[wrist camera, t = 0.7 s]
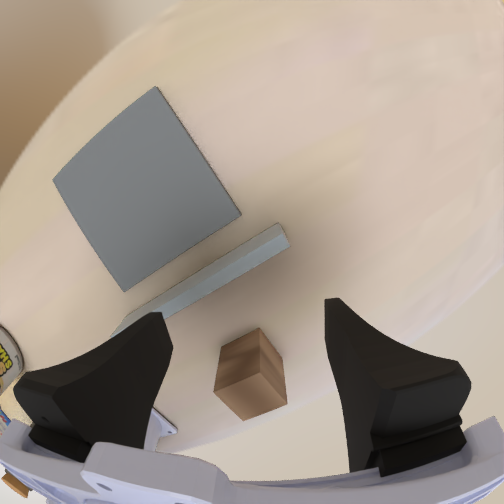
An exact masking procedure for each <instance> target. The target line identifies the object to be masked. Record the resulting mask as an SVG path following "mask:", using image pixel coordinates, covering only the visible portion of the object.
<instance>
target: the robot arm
mask: <svg viewBox="0 0 504 504" xmlns="http://www.w3.org/2000/svg"><path fill="white" fill-rule="evenodd" d="M325 342H326V348H327V354H328V359H329V362H330V365H331V369H332V372H333V375H334V379H335V382H336V385H337V389H338V392H339V395H340V399H341V404H342V409H343V416H344V423H345V431H346V438H347V447H348V457H349V470H350V473H346V474H340V475H334V476H326V477H318V478H308V479H298V480H282V481H230V480H229V478H228V476H227V475H226V474H225V473H224V472H223V471H221V470H220V469H219V468H218V467H217V466H216V465H214V464H211V463H209V462H206V461H204V460H201V459H199V458H193V457H188V456H184V455H177V454H169V453H162V452H155V450H156V447H157V444H158V440H159V438H160V437H164V436H168V435H172V434H176V433H177V429H176V428H175V427H174V426H173V425H172V424H170V423H169V422H168V421H167V420H166V419H165V418H164V417H162V416H161V415H160V414H159V413H158V412H157V411H156V410H155V409H154V408H152V407H153V404H154V401H155V399H156V396H157V394H158V391H159V389H160V387H161V384H162V382H163V379H164V377H165V374H166V372H167V369H168V367H169V363H170V360H171V355H172V351H173V344H172V342H171V339H170V336H169V333H168V330H167V327H166V324H165V321H164V318H163V315H162V312H149V313H147V314H146V315H144V316H143V317H141V318H140V319H138V320H137V321H135V322H134V323H132V324H131V325H130V326H128V327H127V328H125V329H124V330H123V331H121V332H120V333H118V334H117V335H115V336H114V337H112V338H111V339H109V340H108V341H106V342H105V343H103V344H102V345H100V346H98V347H97V348H95V349H93V350H91V351H89V352H87V353H85V354H83V355H81V356H79V357H76V358H74V359H72V360H69V361H67V362H64V363H61V364H59V365H55V366H52V367H49V368H45V369H40V370H35V371H31V372H26V373H25V374H24V375H23V376H22V377H21V379H20V380H19V381H18V382H17V383H16V385H15V386H14V388H13V391H14V395H15V398H16V400H17V401H18V403H19V404H20V406H21V407H22V408H23V410H24V411H25V412H26V413H27V415H28V416H29V417H30V418H31V420H32V421H33V422H34V423H35V425H34V427H33V428H31V427H30V426H29V425H27V424H25V423H23V422H21V421H19V420H16V419H12V421H11V422H10V424H9V425H8V427H7V428H6V430H5V431H4V433H3V434H2V436H1V437H0V463H1V464H2V465H3V466H4V467H5V468H6V469H7V470H8V471H9V472H11V473H12V474H13V475H14V476H15V477H16V478H17V479H19V480H20V481H21V482H22V483H23V484H25V485H26V486H28V487H30V488H31V489H33V490H35V491H36V492H38V493H40V494H41V495H43V496H45V497H46V498H47V500H46V503H47V504H473V503H475V502H477V501H479V500H480V499H482V498H484V497H485V496H487V495H488V494H489V493H491V492H492V491H493V490H494V489H495V488H497V487H498V486H499V485H500V484H501V483H502V482H503V481H504V432H503V430H502V429H501V427H500V425H499V423H498V422H497V419H496V418H495V416H492V417H490V418H488V419H486V420H484V421H481V422H479V423H477V424H475V425H473V426H471V427H469V428H468V429H466V430H465V431H464V432H462V430H461V427H460V425H461V424H462V419H461V417H460V415H459V413H460V411H461V409H462V407H463V405H464V404H465V402H466V400H467V397H468V395H469V392H470V390H471V381H470V379H469V377H468V376H467V374H466V372H465V371H464V369H463V368H462V366H461V365H460V364H459V362H458V361H455V360H450V359H445V358H441V357H436V356H433V355H429V354H426V353H423V352H420V351H418V350H415V349H412V348H410V347H408V346H405V345H403V344H401V343H399V342H397V341H395V340H393V339H391V338H390V337H388V336H386V335H384V334H383V333H381V332H380V331H378V330H377V329H375V328H374V327H373V326H371V325H370V324H368V323H367V322H366V321H364V320H363V319H362V318H361V317H360V316H358V315H357V314H356V313H355V312H354V311H353V310H352V309H351V308H349V307H348V306H347V305H346V304H345V303H344V302H343V301H342V300H341V299H340V298H331V299H325Z"/></svg>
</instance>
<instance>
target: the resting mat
mask: <svg viewBox="0 0 504 504" xmlns="http://www.w3.org/2000/svg"><path fill="white" fill-rule="evenodd" d="M52 180H53V182H54V184H55V186H56V188H57V189H58V191H59V193H60V195H61V197H62V198H63V200H64V202H65V204H66V205H67V207H68V209H69V211H70V212H71V214H72V216H73V217H74V219H75V221H76V222H77V224H78V225H79V227H80V229H81V230H82V232H83V233H84V235H85V237H86V238H87V240H88V241H89V243H90V244H91V246H92V247H93V249H94V250H95V252H96V253H97V255H98V256H99V258H100V259H101V261H102V262H103V264H104V265H105V267H106V268H107V270H108V271H109V272H110V274H111V275H112V277H113V278H114V279H115V281H116V282H117V284H118V285H119V286H120V288H121V289H122V290H123V292H125V291H127V290H128V289H130V288H131V287H132V286H134V285H135V284H137V283H138V282H140V281H141V280H143V279H144V278H146V277H147V276H149V275H150V274H152V273H153V272H155V271H156V270H158V269H159V268H160V267H162V266H163V265H165V264H166V263H168V262H170V261H171V260H173V259H174V258H176V257H177V256H179V255H180V254H182V253H183V252H185V251H186V250H188V249H189V248H191V247H192V246H194V245H195V244H197V243H198V242H200V241H202V240H203V239H205V238H206V237H208V236H209V235H211V234H212V233H214V232H216V231H217V230H219V229H220V228H222V227H223V226H225V225H227V224H228V223H230V222H231V221H233V220H235V219H236V218H238V217H239V216H241V213H240V211H239V210H238V208H237V207H236V205H235V204H234V202H233V201H232V199H231V197H230V196H229V194H228V193H227V191H226V190H225V188H224V187H223V185H222V184H221V182H220V181H219V179H218V178H217V176H216V175H215V173H214V172H213V170H212V168H211V167H210V165H209V164H208V162H207V161H206V159H205V158H204V156H203V155H202V153H201V152H200V150H199V149H198V147H197V146H196V144H195V143H194V141H193V140H192V138H191V137H190V135H189V134H188V132H187V131H186V129H185V128H184V126H183V125H182V123H181V122H180V120H179V119H178V117H177V116H176V114H175V113H174V111H173V110H172V108H171V107H170V105H169V104H168V102H167V101H166V99H165V98H164V96H163V95H162V93H161V92H160V90H159V89H158V88H157V87H156V86H154V87H153V88H152V89H150V90H149V91H148V92H146V93H145V94H144V95H142V96H141V97H140V98H139V99H137V100H136V101H135V102H134V103H132V104H131V105H130V106H129V107H127V108H126V109H125V110H124V111H122V112H121V113H120V114H119V115H118V116H117V117H115V118H114V119H113V120H112V121H111V122H110V123H108V124H107V125H106V126H105V127H104V128H103V129H102V130H101V131H100V132H99V133H97V134H96V135H95V136H94V137H93V138H92V139H91V140H90V141H89V142H88V143H87V144H86V145H85V146H84V147H83V148H82V149H81V150H80V151H79V152H78V153H77V154H76V155H75V156H74V157H73V158H72V159H71V160H70V161H69V162H68V163H67V164H66V165H65V166H64V167H63V168H62V169H61V171H60V172H59V173H58V174H57V175H56V176H55V177H54V178H53V179H52Z"/></svg>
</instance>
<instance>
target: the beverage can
mask: <svg viewBox="0 0 504 504" xmlns="http://www.w3.org/2000/svg"><path fill="white" fill-rule="evenodd" d="M22 368H23V367H22V356H21V353H20V351H19V348H18V346H17V345H16V343H15V342H14V340H13V338H12V337H11V336H10V335H9V334H8V332H7V331H5V330H4V329H3V328H2V327H0V396H1V394H2V393H3V392H4V391H5V390H6V389H7V387H8V386H9V385H10V384H11V383H12V382H13V381H14V379H15V378H16V377H17V376H18V375H19V374H20V372H21V370H22ZM0 410H1V406H0Z"/></svg>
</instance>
